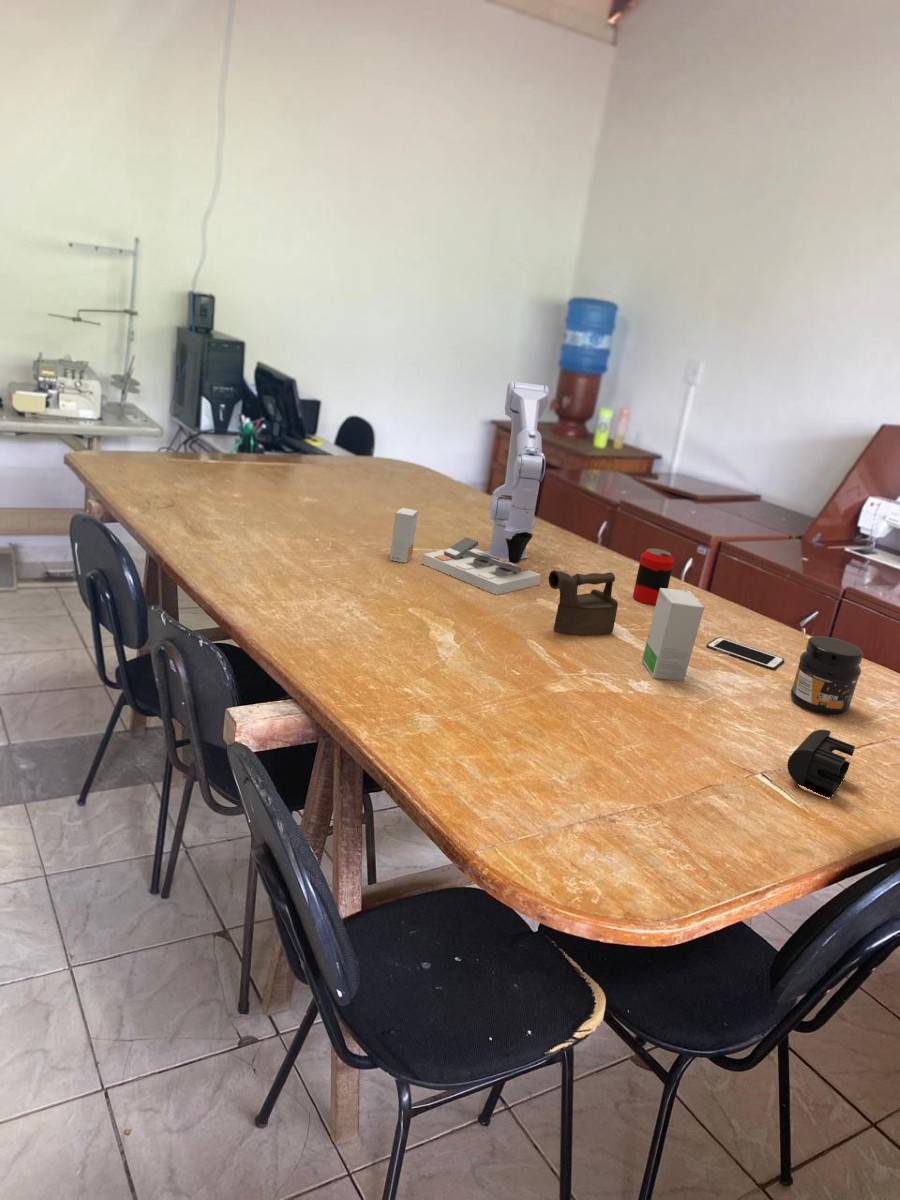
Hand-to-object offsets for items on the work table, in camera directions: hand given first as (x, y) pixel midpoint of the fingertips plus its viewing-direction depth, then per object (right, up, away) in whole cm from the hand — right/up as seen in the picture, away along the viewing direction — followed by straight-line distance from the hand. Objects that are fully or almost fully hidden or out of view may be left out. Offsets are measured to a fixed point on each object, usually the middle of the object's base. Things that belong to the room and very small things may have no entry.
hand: (513, 562), depth 211 cm
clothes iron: (+11, -15, -23) cm, 30 cm away
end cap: (+41, -37, -73) cm, 91 cm away
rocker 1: (-12, +4, +6) cm, 14 cm away
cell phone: (+46, -21, -24) cm, 56 cm away
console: (-8, -3, +3) cm, 9 cm away
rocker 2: (-7, +1, +2) cm, 8 cm away
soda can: (+32, -9, +2) cm, 34 cm away
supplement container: (+54, -29, -44) cm, 75 cm away
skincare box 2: (+26, -23, -39) cm, 52 cm away
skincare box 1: (-27, +1, +7) cm, 28 cm away
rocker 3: (-2, -1, -2) cm, 3 cm away
